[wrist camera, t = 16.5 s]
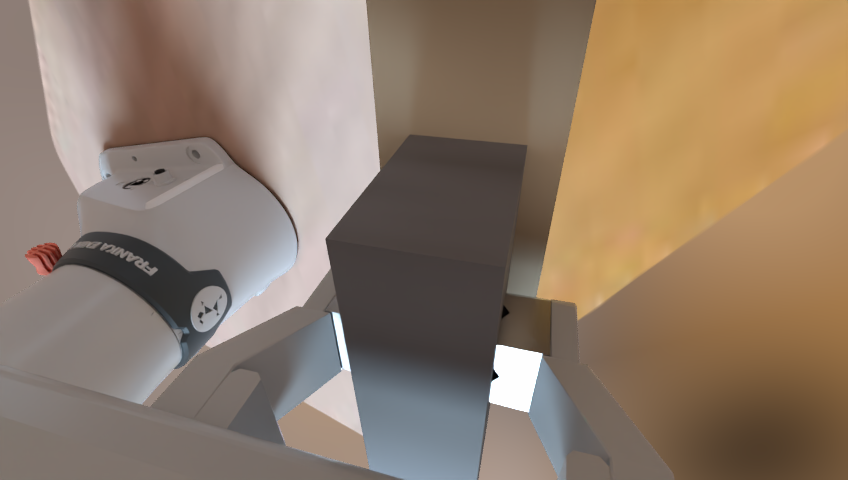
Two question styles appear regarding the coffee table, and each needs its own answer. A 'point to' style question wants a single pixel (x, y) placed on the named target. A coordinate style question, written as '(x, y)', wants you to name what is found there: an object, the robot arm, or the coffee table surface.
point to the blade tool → (451, 214)
